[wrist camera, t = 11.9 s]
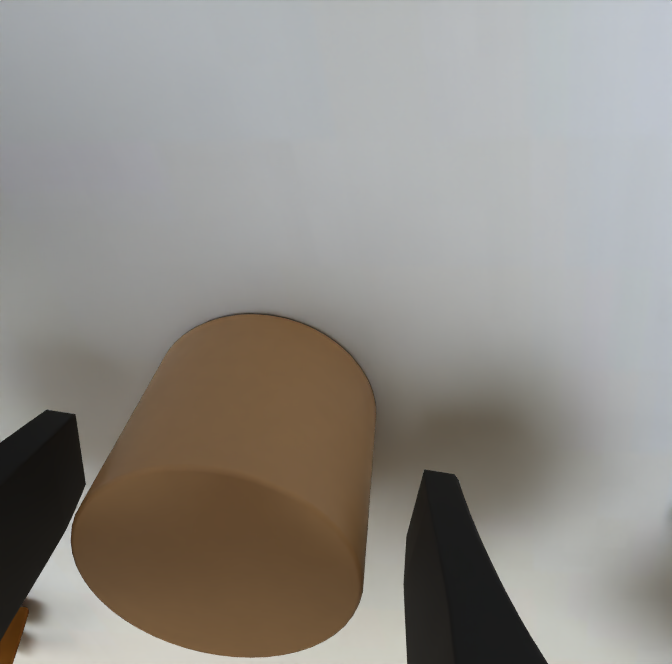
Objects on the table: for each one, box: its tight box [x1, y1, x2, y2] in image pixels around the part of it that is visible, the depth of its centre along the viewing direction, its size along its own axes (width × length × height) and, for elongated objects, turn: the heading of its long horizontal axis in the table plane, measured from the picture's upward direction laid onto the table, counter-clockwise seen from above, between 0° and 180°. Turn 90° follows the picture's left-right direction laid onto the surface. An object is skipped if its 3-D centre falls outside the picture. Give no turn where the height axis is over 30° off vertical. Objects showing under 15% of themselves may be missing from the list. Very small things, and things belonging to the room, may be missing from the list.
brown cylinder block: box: [71, 314, 376, 658], centre depth 13 cm, size 5×5×5 cm
